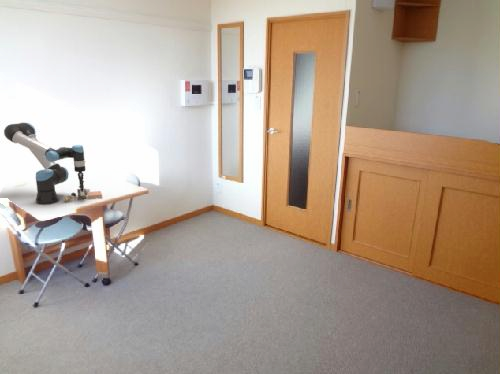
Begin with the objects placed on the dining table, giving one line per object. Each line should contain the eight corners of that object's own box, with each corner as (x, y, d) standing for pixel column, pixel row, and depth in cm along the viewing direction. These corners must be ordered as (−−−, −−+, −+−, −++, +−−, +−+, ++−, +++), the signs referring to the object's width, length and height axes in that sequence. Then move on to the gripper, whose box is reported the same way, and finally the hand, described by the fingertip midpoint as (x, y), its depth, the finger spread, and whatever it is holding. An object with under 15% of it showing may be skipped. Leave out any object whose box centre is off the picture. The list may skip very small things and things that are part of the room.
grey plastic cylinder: (84, 195, 308) (84, 190, 307) (84, 193, 311) (84, 189, 310) (90, 194, 309) (89, 190, 308) (90, 193, 313) (89, 188, 312)
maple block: (66, 202, 288) (65, 197, 287) (64, 201, 291) (63, 196, 290) (74, 201, 292) (74, 196, 291) (72, 200, 295) (72, 195, 294)
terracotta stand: (88, 199, 298) (87, 195, 297) (87, 195, 307) (87, 192, 306) (102, 198, 302) (101, 194, 301) (101, 194, 311) (100, 190, 310)
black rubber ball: (71, 198, 299) (70, 193, 298) (71, 196, 303) (70, 192, 302) (76, 197, 301) (75, 193, 300) (76, 196, 304) (75, 191, 303)
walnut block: (78, 200, 295) (77, 191, 293) (78, 198, 300) (77, 189, 298) (86, 199, 298) (86, 190, 296) (86, 197, 303) (85, 188, 301)
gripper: (85, 169, 282) (88, 196, 288) (84, 162, 304) (87, 188, 310) (74, 169, 280) (77, 198, 285) (74, 163, 301) (76, 189, 307)
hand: (82, 193), depth 298 cm, fingers open, 13 cm apart
